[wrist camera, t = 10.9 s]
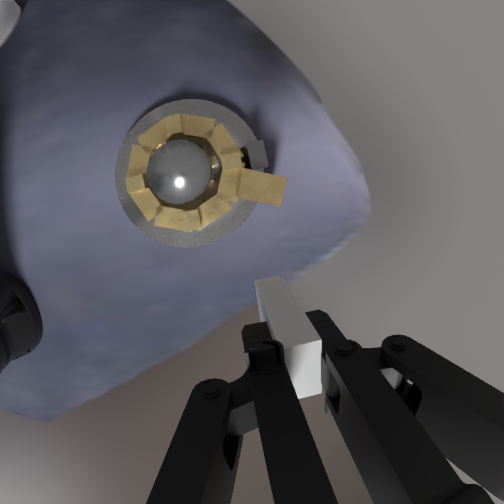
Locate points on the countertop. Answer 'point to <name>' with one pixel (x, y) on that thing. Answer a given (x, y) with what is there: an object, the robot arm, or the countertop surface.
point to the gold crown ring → (230, 186)
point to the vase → (8, 18)
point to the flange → (189, 172)
